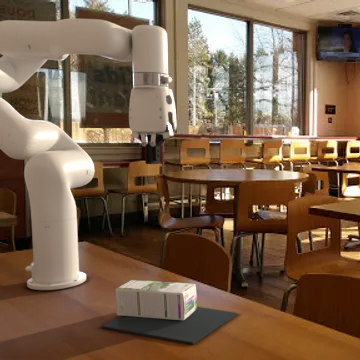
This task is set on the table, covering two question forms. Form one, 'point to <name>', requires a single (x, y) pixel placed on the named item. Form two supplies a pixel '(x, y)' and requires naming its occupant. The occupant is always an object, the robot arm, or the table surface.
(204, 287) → the table surface
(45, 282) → the robot arm
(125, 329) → the mat
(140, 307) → the syrup box
